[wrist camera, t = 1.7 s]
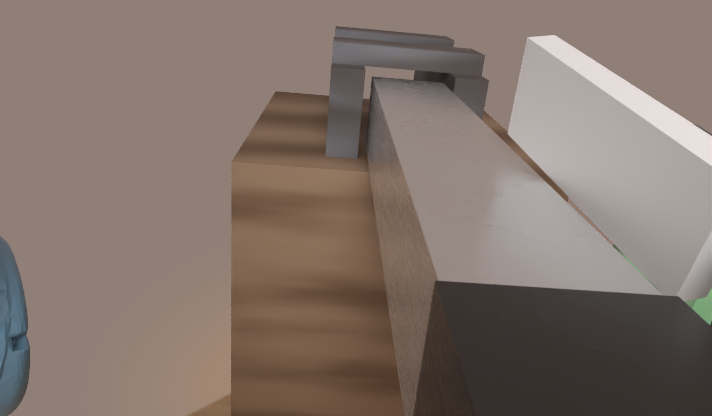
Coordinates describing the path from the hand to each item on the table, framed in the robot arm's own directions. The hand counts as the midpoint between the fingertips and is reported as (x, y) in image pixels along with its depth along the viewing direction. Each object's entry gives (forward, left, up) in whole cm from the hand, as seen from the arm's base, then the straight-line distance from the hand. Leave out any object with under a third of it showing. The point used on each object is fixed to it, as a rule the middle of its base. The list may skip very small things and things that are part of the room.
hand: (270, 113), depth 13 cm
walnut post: (+1, +21, -35) cm, 41 cm away
